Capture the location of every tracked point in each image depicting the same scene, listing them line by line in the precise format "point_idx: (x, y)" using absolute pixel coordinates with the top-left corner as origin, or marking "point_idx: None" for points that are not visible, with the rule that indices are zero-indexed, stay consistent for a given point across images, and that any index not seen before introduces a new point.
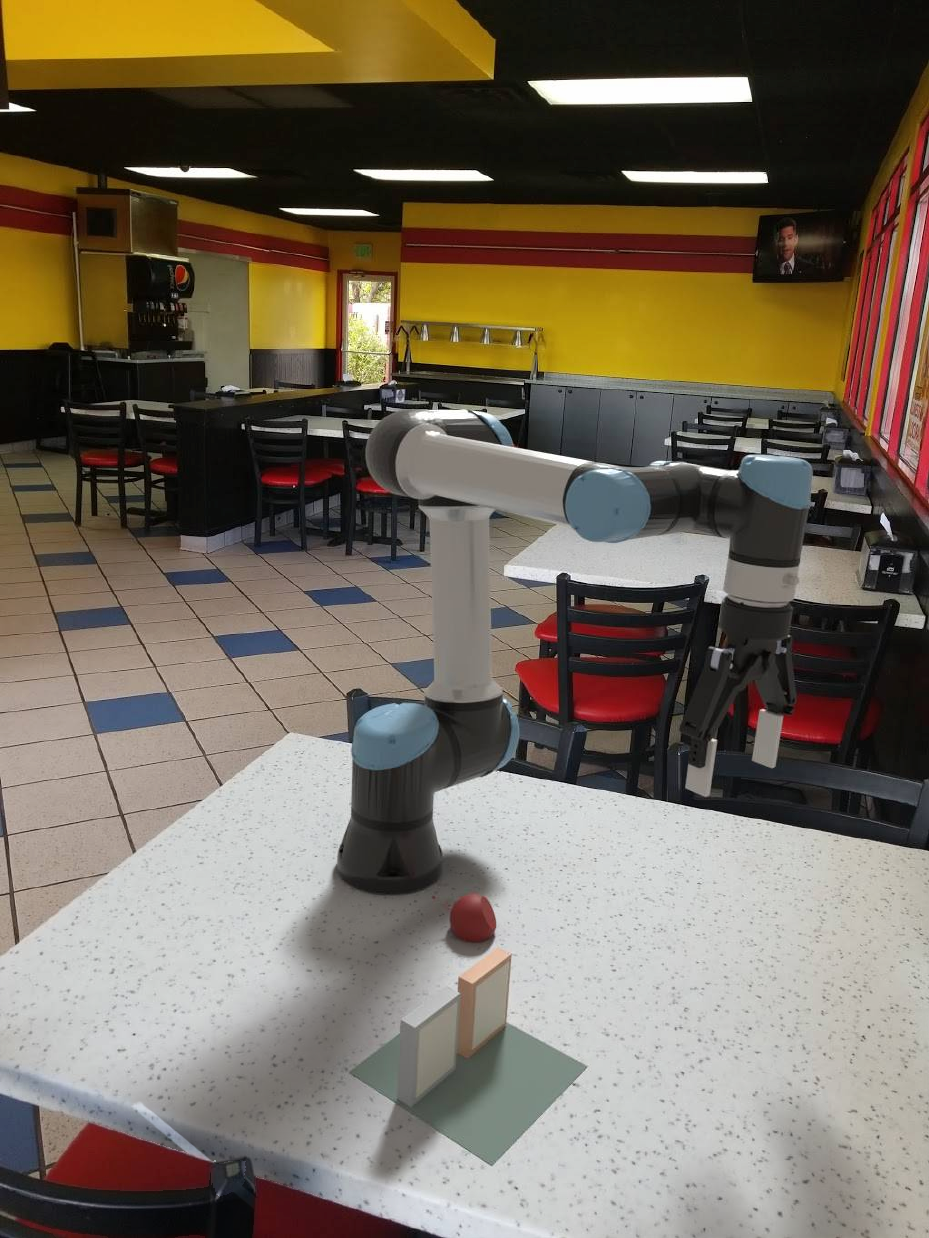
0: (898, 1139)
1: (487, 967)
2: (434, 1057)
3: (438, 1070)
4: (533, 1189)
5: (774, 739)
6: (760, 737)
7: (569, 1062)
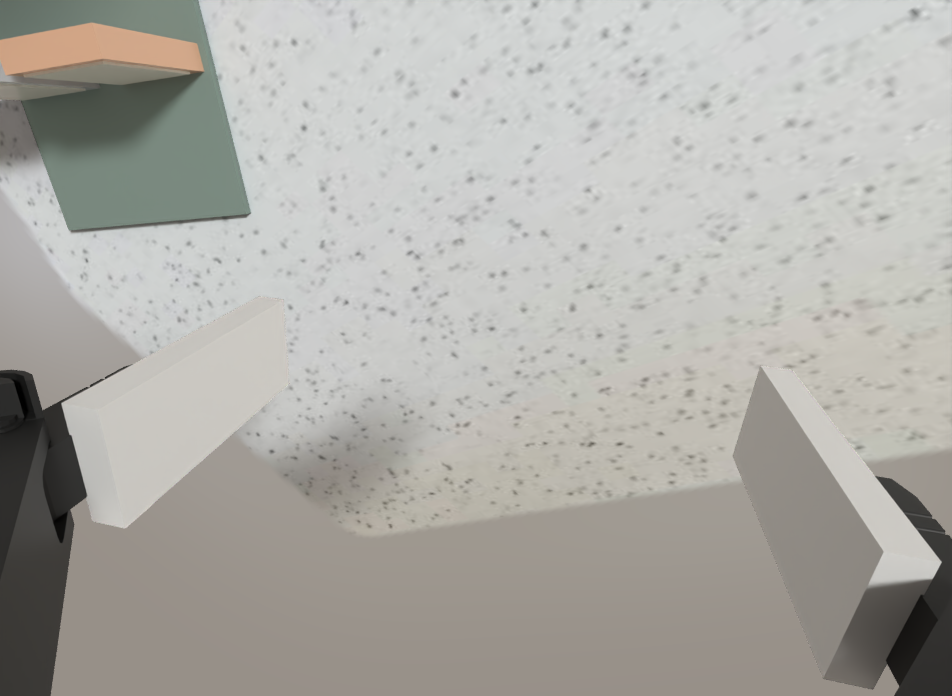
0: (444, 509)
1: (46, 58)
2: (10, 94)
3: (46, 94)
4: (99, 274)
5: (775, 542)
6: (796, 459)
7: (231, 192)
